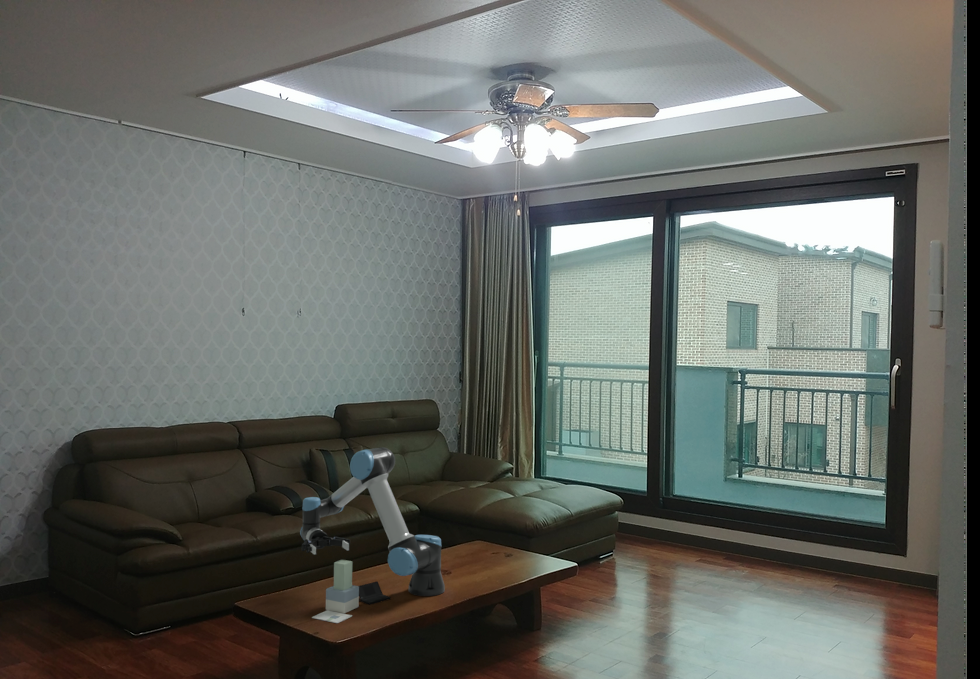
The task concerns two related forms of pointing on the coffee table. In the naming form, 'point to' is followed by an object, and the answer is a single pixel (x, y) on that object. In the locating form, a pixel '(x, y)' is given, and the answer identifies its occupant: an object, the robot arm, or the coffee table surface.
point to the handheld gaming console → (371, 593)
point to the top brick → (342, 574)
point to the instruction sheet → (332, 616)
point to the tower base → (342, 605)
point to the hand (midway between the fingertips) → (331, 549)
